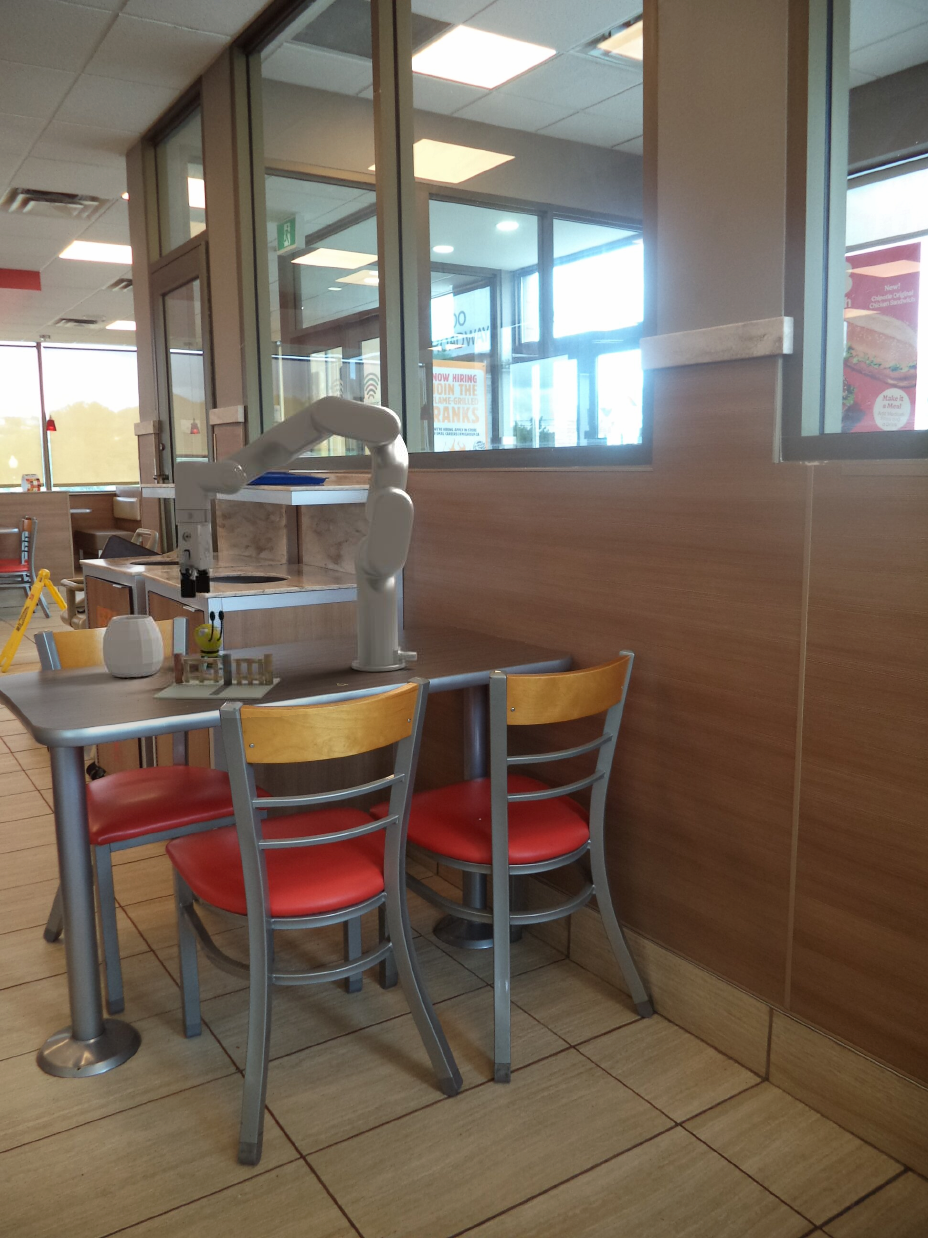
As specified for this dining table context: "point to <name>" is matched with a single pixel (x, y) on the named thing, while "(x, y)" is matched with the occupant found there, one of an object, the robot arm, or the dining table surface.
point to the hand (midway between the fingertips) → (195, 595)
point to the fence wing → (201, 677)
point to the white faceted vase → (132, 646)
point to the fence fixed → (248, 670)
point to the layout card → (215, 690)
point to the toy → (210, 638)
